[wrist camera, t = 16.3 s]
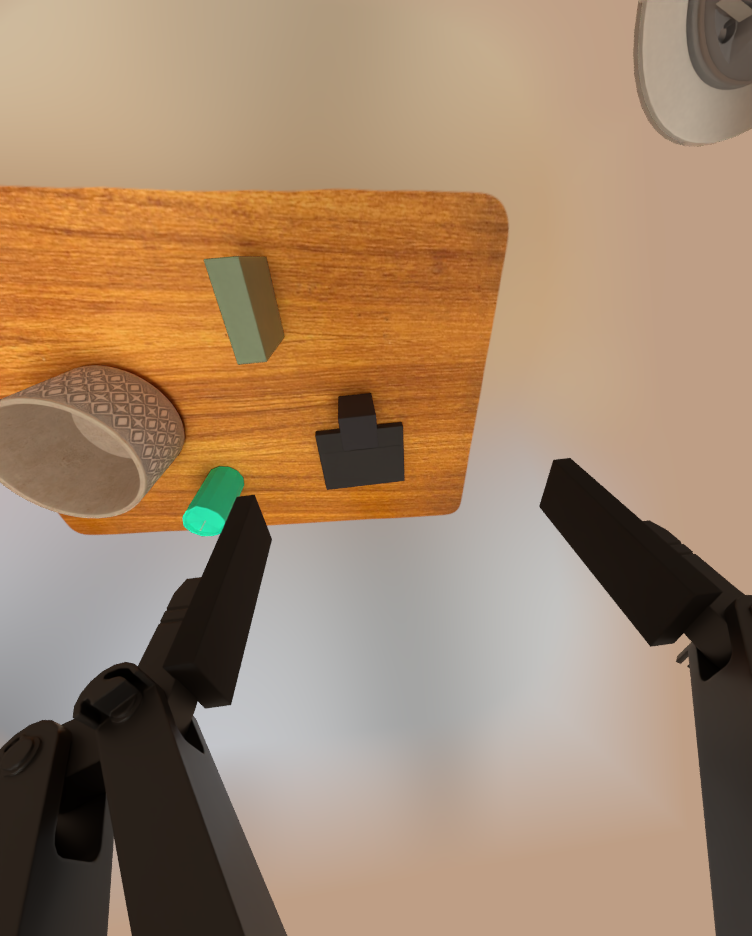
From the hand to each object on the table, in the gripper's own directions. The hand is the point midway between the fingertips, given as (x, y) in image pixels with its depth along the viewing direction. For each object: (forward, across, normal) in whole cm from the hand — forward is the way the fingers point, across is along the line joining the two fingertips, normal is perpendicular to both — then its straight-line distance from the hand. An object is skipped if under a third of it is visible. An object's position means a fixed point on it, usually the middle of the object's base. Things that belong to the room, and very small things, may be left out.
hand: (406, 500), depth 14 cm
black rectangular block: (+35, -2, -12) cm, 37 cm away
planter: (+35, -36, -8) cm, 51 cm away
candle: (+35, -26, -21) cm, 48 cm away
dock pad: (+35, -2, -19) cm, 40 cm away
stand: (+35, -12, +6) cm, 37 cm away
